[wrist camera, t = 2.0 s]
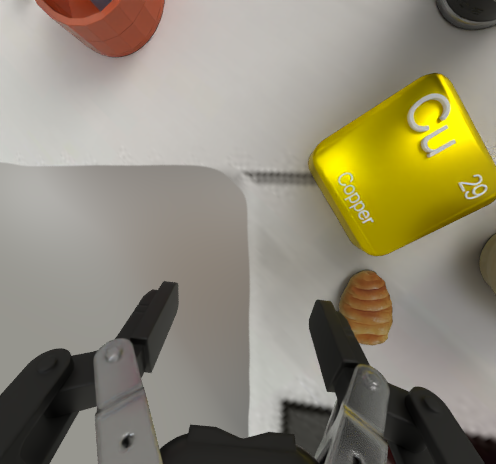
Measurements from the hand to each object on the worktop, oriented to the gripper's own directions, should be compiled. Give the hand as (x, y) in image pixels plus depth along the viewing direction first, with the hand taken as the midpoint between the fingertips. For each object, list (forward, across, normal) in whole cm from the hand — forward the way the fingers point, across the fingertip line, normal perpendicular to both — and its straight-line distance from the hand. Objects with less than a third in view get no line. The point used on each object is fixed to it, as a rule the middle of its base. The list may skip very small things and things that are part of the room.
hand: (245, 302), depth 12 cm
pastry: (+14, -17, +11) cm, 25 cm away
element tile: (+18, -16, -6) cm, 25 cm away
